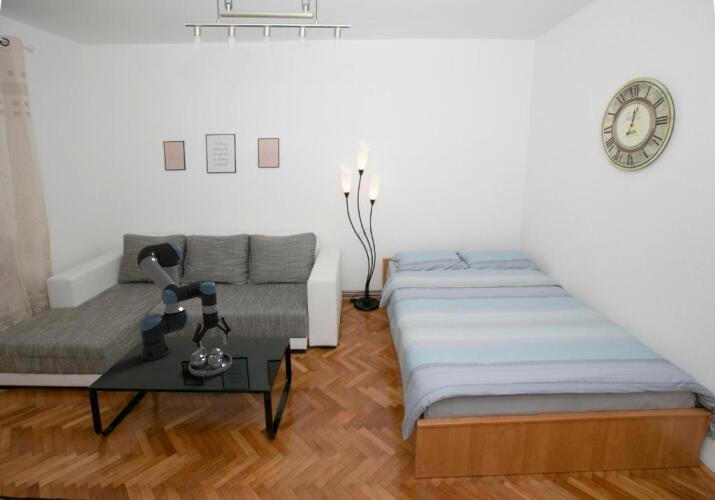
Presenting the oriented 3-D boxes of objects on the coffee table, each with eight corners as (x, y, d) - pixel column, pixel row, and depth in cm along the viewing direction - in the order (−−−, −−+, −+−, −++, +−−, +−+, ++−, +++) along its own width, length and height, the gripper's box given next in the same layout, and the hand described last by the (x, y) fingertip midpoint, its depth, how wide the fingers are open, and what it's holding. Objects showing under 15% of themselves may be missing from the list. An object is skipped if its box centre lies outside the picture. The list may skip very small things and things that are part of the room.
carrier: (183, 367, 217) (181, 353, 216) (220, 353, 232) (219, 341, 231) (200, 382, 202) (198, 367, 200) (239, 366, 217) (238, 353, 215)
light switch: (191, 368, 215) (190, 355, 213) (204, 358, 226) (202, 345, 225) (194, 369, 215) (192, 355, 213) (206, 358, 226) (205, 346, 224)
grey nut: (212, 372, 208) (211, 362, 207) (206, 368, 213) (205, 357, 212) (224, 367, 213) (223, 357, 211) (218, 363, 218) (217, 353, 216)
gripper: (189, 320, 195) (192, 359, 200) (235, 307, 212) (238, 343, 217) (183, 315, 200) (186, 353, 205) (228, 303, 217) (231, 338, 222)
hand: (213, 348), depth 211 cm, fingers open, 13 cm apart
